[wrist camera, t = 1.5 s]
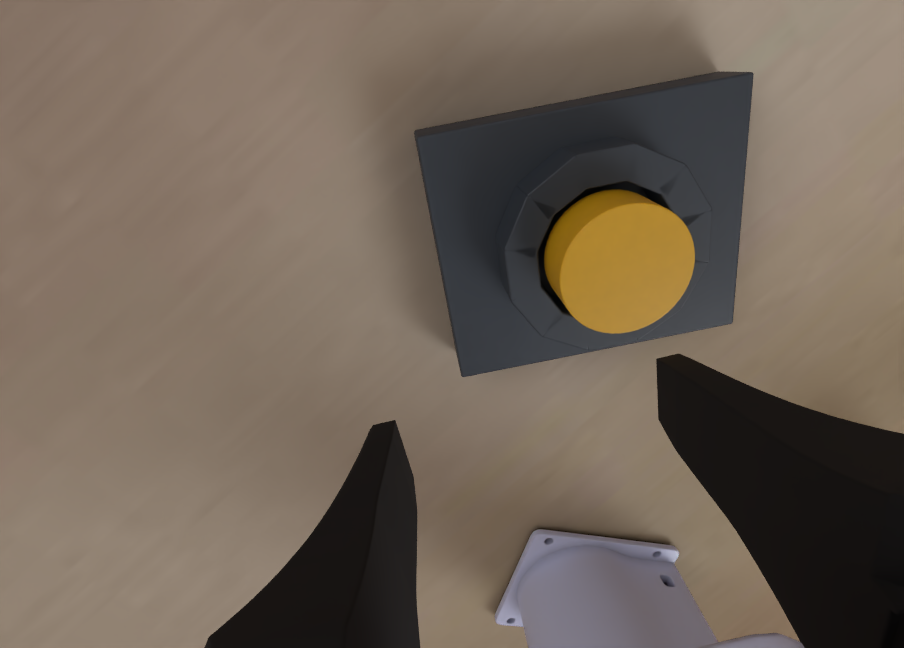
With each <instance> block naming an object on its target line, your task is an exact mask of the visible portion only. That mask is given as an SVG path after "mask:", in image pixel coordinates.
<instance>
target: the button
mask: <svg viewBox="0 0 904 648" xmlns="http://www.w3.org/2000/svg"><path fill="white" fill-rule="evenodd" d="M694 263H695V249H694V243H693V239H692V236H691V234H690V232H689V230H688V228H687V226H686V225H685V223H684V222H683V221H682V220H681V219H680V218H679V217H678V216H677V215H676V214H675V213H673V212H672V211H670V210H669V209H667V208H665V207H663V206H661V205H659V204H657V203H655V202H653V201H651V200H649V199H648V198H646V197H644V196H642V195H640V194H637V193H635V192H632V191H628V190H621V189H611V190H603V191H600V192H596V193H593V194H591V195H588V196H586V197H584V198H582V199H580V200H579V201H577V202H576V203H574V204H573V205H572V206H571V207H569V208H568V209H567V210H566V211H565V212H564V213H563V214H562V215H561V217H560V218H559V219H558V220H557V222H556V223H555V225H554V226H553V228H552V230H551V232H550V234H549V237H548V240H547V243H546V247H545V253H544V267H545V273H546V276H547V279H548V281H549V283H550V285H551V287H552V289H553V290H554V291H555V293H556V294H557V296H558V297H559V298H560V300H561V301H562V303H563V304H564V305H565V307H566V308H567V310H568V311H569V312H570V314H571V315H572V316H573V317H574V318H575V319H576V320H577V321H578V322H580V323H581V324H582V325H584V326H586V327H588V328H590V329H593V330H595V331H599V332H603V333H612V334H614V333H626V332H631V331H635V330H638V329H641V328H644V327H646V326H648V325H650V324H652V323H654V322H655V321H657V320H658V319H660V318H661V317H663V316H664V315H665V314H666V313H668V312H669V311H670V310H671V309H672V308H673V307H674V306H675V305H676V303H677V302H678V301H679V300H680V298H681V297H682V295H683V294H684V292H685V290H686V289H687V287H688V285H689V282H690V280H691V277H692V274H693V269H694Z"/></svg>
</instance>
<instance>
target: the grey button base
mask: <svg viewBox="0 0 904 648" xmlns="http://www.w3.org/2000/svg"><path fill="white" fill-rule="evenodd" d="M752 86H753V73H752V72H714V73H709V74H704V75H699V76H694V77H689V78H683V79H678V80H673V81H668V82H663V83H657V84H652V85H647V86H642V87H637V88H632V89H626V90H621V91H616V92H611V93H606V94H600V95H595V96H590V97H585V98H580V99H575V100H569V101H564V102H559V103H554V104H549V105H544V106H538V107H533V108H528V109H523V110H518V111H512V112H507V113H502V114H497V115H492V116H487V117H481V118H476V119H471V120H466V121H461V122H455V123H450V124H445V125H440V126H435V127H430V128H424V129H419V130H415V131H414V135H415V140H416V145H417V151H418V156H419V161H420V166H421V171H422V177H423V182H424V187H425V192H426V197H427V203H428V208H429V213H430V218H431V223H432V228H433V234H434V239H435V244H436V249H437V254H438V260H439V265H440V270H441V275H442V280H443V286H444V291H445V296H446V301H447V306H448V312H449V317H450V322H451V327H452V332H453V338H454V343H455V348H456V353H457V358H458V362H459V367H460V371H461V376H462V377H467V376H472V375H477V374H482V373H487V372H492V371H497V370H502V369H507V368H512V367H517V366H522V365H527V364H532V363H537V362H542V361H547V360H552V359H557V358H562V357H567V356H572V355H577V354H582V353H587V352H592V351H597V350H602V349H607V348H612V347H617V346H622V345H627V344H632V343H637V342H642V341H647V340H652V339H657V338H662V337H667V336H672V335H677V334H682V333H687V332H692V331H697V330H702V329H707V328H712V327H717V326H722V325H727V324H731V323H732V322H733V311H734V299H735V287H736V276H737V264H738V252H739V240H740V228H741V216H742V204H743V192H744V181H745V169H746V157H747V145H748V133H749V121H750V109H751V97H752ZM611 189H621V190H628V191H632V192H635V193H637V194H640V195H642V196H644V197H646V198H648V199H649V200H651V201H653V202H655V203H657V204H659V205H661V206H663V207H665V208H667V209H669V210H670V211H672V212H673V213H675V214H676V215H677V216H678V217H679V218H680V219H681V220H682V221H683V222H684V223H685V225H686V226H687V228H688V230H689V232H690V234H691V236H692V239H693V243H694V249H695V263H694V269H693V274H692V277H691V280H690V282H689V285H688V287H687V289H686V290H685V292H684V294H683V295H682V297H681V298H680V300H679V301H678V302H677V303H676V305H675V306H674V307H673V308H672V309H671V310H670V311H669V312H668V313H666V314H665V315H664V316H663V317H661V318H660V319H658V320H657V321H655V322H654V323H652V324H650V325H648V326H646V327H644V328H641V329H638V330H635V331H631V332H626V333H614V334H612V333H603V332H599V331H595V330H593V329H590V328H588V327H586V326H584V325H582V324H581V323H580V322H578V321H577V320H576V319H575V318H574V317H573V316H572V315H571V314H570V312H569V311H568V310H567V308H566V307H565V305H564V304H563V303H562V301H561V300H560V298H559V297H558V296H557V294H556V293H555V291H554V290H553V289H552V287H551V285H550V283H549V281H548V279H547V276H546V273H545V267H544V253H545V247H546V243H547V240H548V237H549V234H550V232H551V230H552V228H553V226H554V225H555V223H556V222H557V220H558V219H559V218H560V217H561V215H562V214H563V213H564V212H565V211H566V210H567V209H568V208H569V207H571V206H572V205H573V204H574V203H576V202H577V201H579V200H580V199H582V198H584V197H586V196H588V195H591V194H593V193H596V192H600V191H603V190H611Z"/></svg>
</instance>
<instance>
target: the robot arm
mask: <svg viewBox="0 0 904 648" xmlns="http://www.w3.org/2000/svg"><path fill="white" fill-rule="evenodd" d="M656 361H657V389H658V418H659V421H660V423H661V425H662V426H663V428H664V430H665V432H666V434H667V436H668V437H669V439H670V441H671V442H672V444H673V446H674V448H675V449H676V451H677V452H678V454H679V455H680V456H681V458H682V459H683V460H684V462H685V463H686V464H687V466H688V467H689V468H690V470H691V471H692V472H693V474H694V475H695V476H696V478H697V479H698V480H699V482H700V483H701V484H702V485H703V487H704V488H705V489H706V491H707V492H708V493H709V495H710V496H711V497H712V499H713V500H714V501H715V502H716V504H717V505H718V506H719V508H720V509H721V510H722V512H723V513H724V514H725V516H726V517H727V518H728V520H729V521H730V523H731V524H732V525H733V527H734V528H735V530H736V531H737V533H738V534H739V536H740V538H741V539H742V541H743V542H744V544H745V546H746V547H747V549H748V551H749V552H750V554H751V556H752V557H753V559H754V560H755V562H756V564H757V565H758V567H759V569H760V570H761V572H762V574H763V576H764V577H765V579H766V581H767V582H768V584H769V586H770V588H771V589H772V591H773V593H774V595H775V596H776V598H777V600H778V601H779V603H780V605H781V607H782V609H783V610H784V612H785V614H786V616H787V618H788V620H789V621H790V623H791V625H792V627H793V629H794V630H795V632H796V634H797V636H798V638H799V640H800V641H801V642H799V641H796V640H794V639H792V638H789V637H787V636H784V635H782V634H778V633H768V634H753V635H748V636H744V637H739V638H735V639H731V640H726V641H722V642H718V641H717V639H716V637H715V635H714V634H713V632H712V630H711V628H710V627H709V625H708V623H707V621H706V619H705V618H704V616H703V614H702V612H701V611H700V609H699V607H698V605H697V603H696V602H695V600H694V598H693V596H692V595H691V593H690V591H689V589H688V587H687V586H686V584H685V582H684V580H683V579H682V577H681V575H680V573H679V571H678V570H677V568H676V566H675V564H674V563H675V561H676V559H677V558H678V556H679V551H678V550H677V548H676V547H675V546H672V545H665V544H657V543H649V542H641V541H633V540H625V539H616V538H608V537H600V536H592V535H584V534H576V533H568V532H560V531H552V530H544V529H538V530H535V531H534V532H533V533H532V534H531V536H530V538H529V540H528V542H527V545H526V547H525V549H524V551H523V553H522V556H521V558H520V560H519V562H518V565H517V567H516V569H515V571H514V573H513V576H512V578H511V580H510V582H509V584H508V587H507V589H506V591H505V593H504V595H503V598H502V600H501V602H500V604H499V607H498V609H497V611H496V613H495V621H496V623H498V624H500V625H509V626H521V627H524V631H525V635H526V640H527V644H528V648H904V434H902V433H897V432H893V431H888V430H883V429H879V428H875V427H871V426H867V425H863V424H859V423H855V422H851V421H848V420H844V419H840V418H837V417H833V416H830V415H827V414H824V413H821V412H818V411H814V410H811V409H808V408H805V407H802V406H799V405H796V404H794V403H791V402H788V401H786V400H783V399H781V398H778V397H775V396H773V395H770V394H768V393H765V392H763V391H761V390H758V389H756V388H753V387H751V386H749V385H746V384H744V383H742V382H740V381H738V380H735V379H733V378H731V377H729V376H727V375H724V374H722V373H720V372H718V371H716V370H714V369H712V368H710V367H707V366H705V365H703V364H701V363H699V362H697V361H695V360H692V359H690V358H688V357H686V356H683V355H681V354H675V355H671V356H667V357H662V358H658V359H656ZM547 538H549V539H547ZM416 567H417V504H416V494H415V486H414V477H413V474H412V470H411V467H410V464H409V461H408V458H407V455H406V452H405V449H404V446H403V443H402V440H401V437H400V434H399V431H398V427H397V424H396V421H395V420H393V421H389V422H384V423H380V424H376V425H373V426H372V428H371V429H370V431H369V433H368V436H367V438H366V440H365V442H364V444H363V447H362V449H361V451H360V453H359V455H358V457H357V459H356V461H355V463H354V465H353V467H352V469H351V471H350V473H349V475H348V476H347V478H346V480H345V482H344V484H343V486H342V487H341V489H340V491H339V492H338V494H337V496H336V497H335V499H334V501H333V502H332V504H331V506H330V507H329V509H328V511H327V512H326V514H325V515H324V517H323V518H322V520H321V521H320V522H319V524H318V525H317V527H316V528H315V529H314V531H313V532H312V534H311V535H310V536H309V538H308V539H307V540H306V542H305V543H304V544H303V545H302V546H301V547H300V549H299V550H298V551H297V552H296V553H295V555H294V556H293V557H292V558H291V559H290V560H289V562H288V563H287V564H286V565H285V566H284V567H283V569H282V570H281V571H280V572H279V573H278V574H277V575H276V576H275V577H274V578H273V579H272V580H271V581H270V582H269V583H268V584H267V585H266V586H265V587H264V588H263V589H262V590H261V591H260V592H259V593H258V594H257V595H256V596H255V597H254V598H253V599H252V600H251V601H250V602H249V603H248V604H247V605H246V606H244V607H243V608H242V609H241V610H240V611H239V612H238V613H236V614H235V615H234V616H233V617H232V618H231V619H230V620H228V621H227V622H226V623H225V624H224V625H223V626H221V627H220V628H219V629H218V630H217V631H216V632H214V633H213V634H212V635H211V636H210V637H209V638H208V641H207V643H206V646H205V648H420V640H419V628H418V616H417V600H416Z"/></svg>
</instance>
